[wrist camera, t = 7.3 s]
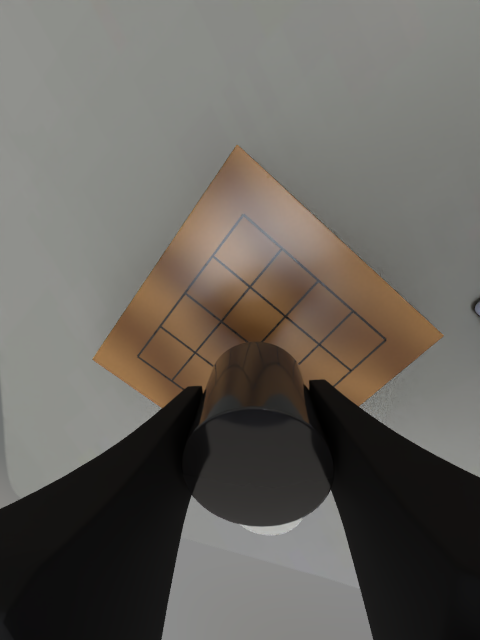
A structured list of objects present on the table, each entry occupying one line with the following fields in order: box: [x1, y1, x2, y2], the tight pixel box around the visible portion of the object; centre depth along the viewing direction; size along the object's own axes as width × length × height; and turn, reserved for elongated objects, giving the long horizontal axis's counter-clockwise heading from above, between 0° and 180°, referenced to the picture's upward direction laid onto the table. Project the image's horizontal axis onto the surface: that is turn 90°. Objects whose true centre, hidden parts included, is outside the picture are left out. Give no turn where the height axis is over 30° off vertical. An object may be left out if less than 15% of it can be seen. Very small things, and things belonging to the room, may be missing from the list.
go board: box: [92, 145, 444, 408], centre depth 17 cm, size 17×17×1 cm
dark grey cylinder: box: [181, 342, 335, 527], centre depth 9 cm, size 4×4×5 cm
